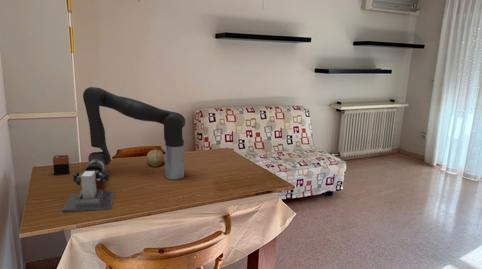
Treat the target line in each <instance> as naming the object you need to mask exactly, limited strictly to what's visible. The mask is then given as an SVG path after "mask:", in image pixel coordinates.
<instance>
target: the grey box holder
mask: <svg viewBox="0 0 482 269" xmlns="http://www.w3.org/2000/svg"><path fill="white" fill-rule="evenodd" d="M96 191H97V197H96V198H93V199H83V193H82V189H80V191H79V193H78V192H77V193H70V194H69V197H68V198H67V199H66V202H65V204H64V206H63V207H62V209H61V212H62V213H74V212H76V213H77V212H88V211H89V212H90V211H103V210H111V209H112V205H113V201H114V197H115V191H103V188H102V189H101V188H100V189H99V188H96Z"/></svg>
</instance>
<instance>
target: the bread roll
mask: <svg viewBox="0 0 482 269" xmlns="http://www.w3.org/2000/svg"><path fill="white" fill-rule="evenodd" d="M146 160H147V162H148V164H149V166H151V167H153V168H157V167H159V166H161V165H162V164H163V162H164V161H165V154H164V152H163V151H162V150H161V149H151V150H150V151H149V152H147V155H146Z"/></svg>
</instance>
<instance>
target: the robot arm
mask: <svg viewBox="0 0 482 269" xmlns="http://www.w3.org/2000/svg"><path fill="white" fill-rule="evenodd" d="M82 98H83V104H84V107H85V111H86V116H87V119H88V120H87V122H88V126H89V127H88V128H89V136H90V138H89V139H90V146H91V147H92V148H97V149H100V150H101V151H93V152H90V153H89V154H88V158H87V159H88V164H87V166H86V168H85V170H84V172H85V171H95V176H96V181H98V182H99V185H102V184H103V183H104V182H105V181H109V180H110V171H109V170H105V167H106V166H108V165H110V163H111V161H112V156H111V154H110V151H109V149H108V147H107V142H106V140H107V138H106V131H105V130H106V129H105V127H104V124H103V120H102V118H101V112H100V110H101V108H100V107H104V108H108V109H111V110H115V111H116V112H118V113H119V114H121V115H123V116H125V117H129V118H131V119H134V120H138V121H142V122H153V123H158V124H161V125H163V139H164V143H165V144H164V146H165V148H164V150H165V152H164V153H165V154H164V161H165V164H164V166H165V171H164V173H165V178H166V179H168V180H180V179H184V178H185V159H184V154H185V153H184V152H185V148H184V146H185V145H184V144H185V143H184V142H185V141H184V138H183V128H184V127H185V125H186V119H185V117H184V116H183V114H182V113H179V112H175V111H170V110H166V109H162V108H159V107H157V106H153V105H150V104H148V103H146V102H143V101H140V100H137V99H133V98H129V97H125V96H120V95H116V94H114V93H111V92H109V91H107V90H106V89H103V88H100V87H95V86H90V87H87V88H85V90H83V93H82ZM104 171H105V172H104ZM84 172H82V173H80V172H79V171H77V172H75V173H74V175H72V180H73V181H72V182H73V183H75V184H76V185H77V186H80V185H81V184H82V180H81V176H82V175H83V173H84Z"/></svg>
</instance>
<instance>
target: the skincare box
mask: <svg viewBox="0 0 482 269" xmlns="http://www.w3.org/2000/svg"><path fill="white" fill-rule="evenodd" d="M82 173H83V172H82ZM81 180H82V182H81V190H82V193H83V199H93V198H96V197H97V191H96V189H97V180H96V176H95V171H85V170H84V173H83V175H82V176H81Z"/></svg>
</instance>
